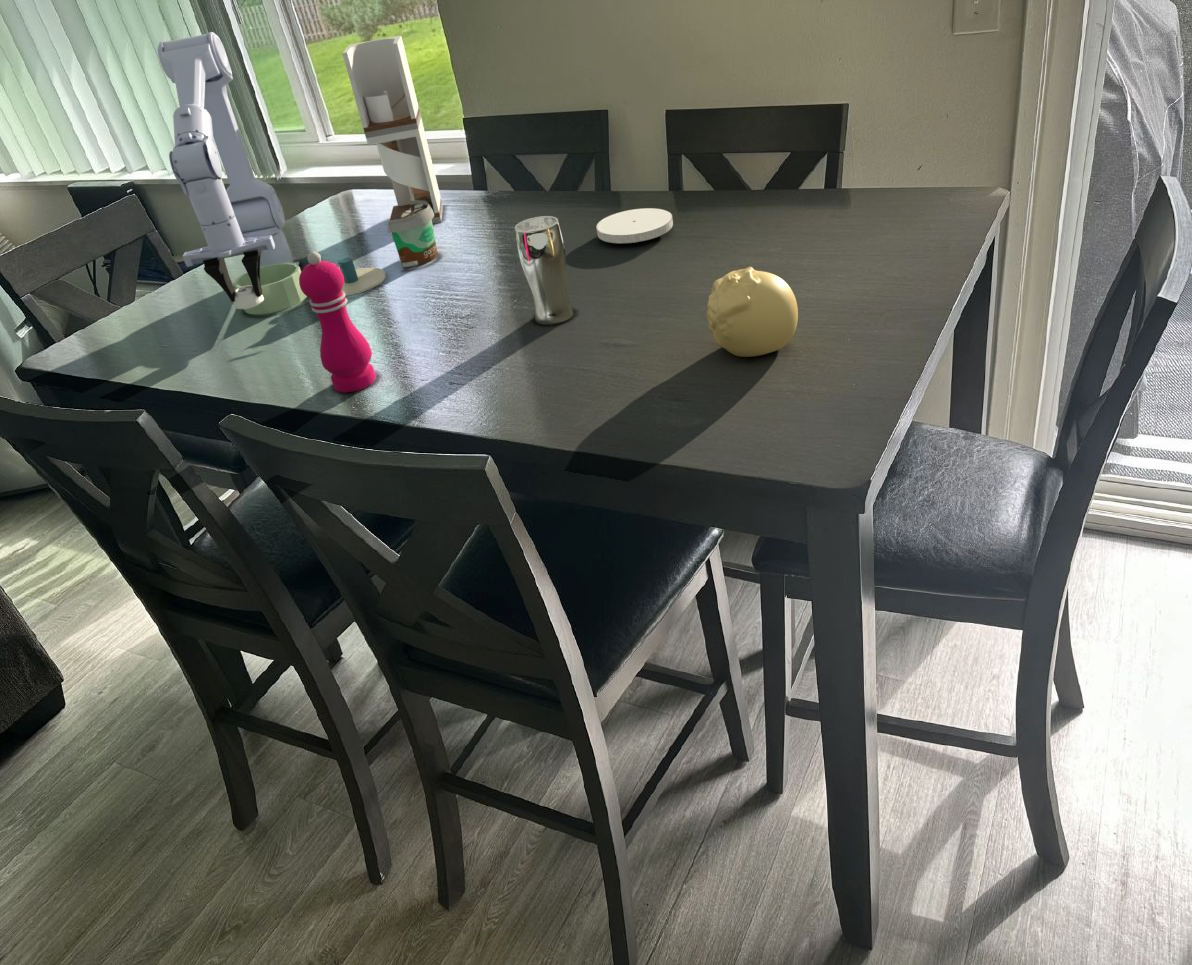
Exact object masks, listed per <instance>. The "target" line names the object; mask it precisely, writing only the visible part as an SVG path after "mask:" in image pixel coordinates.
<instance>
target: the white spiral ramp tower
mask: <svg viewBox="0 0 1192 965" xmlns="http://www.w3.org/2000/svg"><path fill="white" fill-rule="evenodd" d="M342 57H343V61H344V65H345V68H346V72H347V74H348V78H349V82H350V85H351V89H352V92H353V97H354V101H355V104H356V107H357V111H358V115H359V118H360V122H361V125H362V128H363V132H364V137H365V139H366V143H367V146H372V145H376V148H377V151H378V154H379V159H380V161H381V166H382V169H383V172H384V173H385V175H386V176H387V177H388V179H390V182H391V185H392V189H393V193H394V196H395V199H396V200H395V201H396V203H397V205H393V206H392V210H391V214H390V217H389V221H390V220H396V219H397V218H398V216H399V215H400V213H401V212H403V211H406V210H407V209H408V208H409V207H410V206H411V204H410V201H412V200H421V201H425V202H427V203H428V204H429V205H430V207H431V208H432V210H433V213H434V217H433V218H432V225H433V224H438V223H442V220H443V210H444V204H443V201H442V198H441V197H442V196H441V192H440V189H439V188H440V187H439V185H438V180H437V177H436V172H435V168H434V164H433V160H432V156H431V152H430V149H429V143H428V140H427V135H426V132H425V126H424V122H423V119H422V115H421V110H420V106H419V103H418V99H417V94H416V90H415V86H414V82H413V79H412V74H411V70H410V65H409V61H408V57H407V53H406V49H405V45H404V41H403V38H402V35H394V36H389V37H384V38H378V39H372V40H368V41H362V42H357V43H351V44H348V46H347V47H346V48H345V49H344V50H343V52H342Z"/></svg>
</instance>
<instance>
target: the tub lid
mask: <svg viewBox="0 0 1192 965" xmlns="http://www.w3.org/2000/svg"><path fill="white" fill-rule="evenodd" d="M337 264H338V267H339V269H340V270H341V272H342V274H343V276H344V286H343V288H342V291H343V292H344V293H345V297H350V296H354V295H359V294H361V293H365V292H367V291H369V290H371V289H374V288H375V287H377V286H380V284H382V283H383V282H384V281H385V279H386V277H387V273H386V272H385V270H383V269H381V268H379V267H359V268H356V267H355V263H354V261H353V258H352V257H343V258H340V259H339V260H338V261H337Z"/></svg>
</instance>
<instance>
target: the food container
mask: <svg viewBox="0 0 1192 965" xmlns="http://www.w3.org/2000/svg"><path fill="white" fill-rule="evenodd" d="M410 204H411V206H410V207H409V208H408V209H407V210H406V211H403V212H401V213H400V215H399V216H398V218H397V219H396V220H390V219H389V220H387V226H388V232H389V233H390V234H391V236H392V239H393V242H394V245H395V249H396V251H397V254H398V257H399V261H400V263H401V266H402V269H411V268H416V267H419V266H423V265H425V264H428V263H430V262H432V261H434V260H435V259H436V258H437V257H438V248H437V242H436V236H435V231H434V226H433V224H432V218H433V217H434V213H433V210H432V208H431V207H430V205H429V204H428V203H427V202H425V201H421V200H412V201H410Z"/></svg>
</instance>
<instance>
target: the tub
mask: <svg viewBox="0 0 1192 965" xmlns="http://www.w3.org/2000/svg"><path fill="white" fill-rule="evenodd" d="M301 271H302V270H301V267H300V266H299V265H297V264H293V263H277V264H272V265H267V266H263V267H260V281H261V288H262V292H263V293H262V295H263V297H264V300H263V301H262V302H261V303H260V304H259V305H257V306H255V307H252V308H249V309H243V311H244V312H245V313H246V314H250V315H267V314H272V313H277V312H280V311H283V310H286V309H289V308H293V307H294V306H296V305H298V304H300V303H301V302H303V301H304V300H305V299H306V298H308V297H307V296H306V295H305V294H304V293H303V292H302V290H301V288H300V284H299V276H300V273H301ZM246 285H252V282H251V280H250V277H249V275H248V273H247V272H245V273H243V274H241V275H240V276H238V277H237V278H236V279H235V280H234V283H233V286H234V288H235V290H236V289H238V288H240V287H242V286H246Z"/></svg>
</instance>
